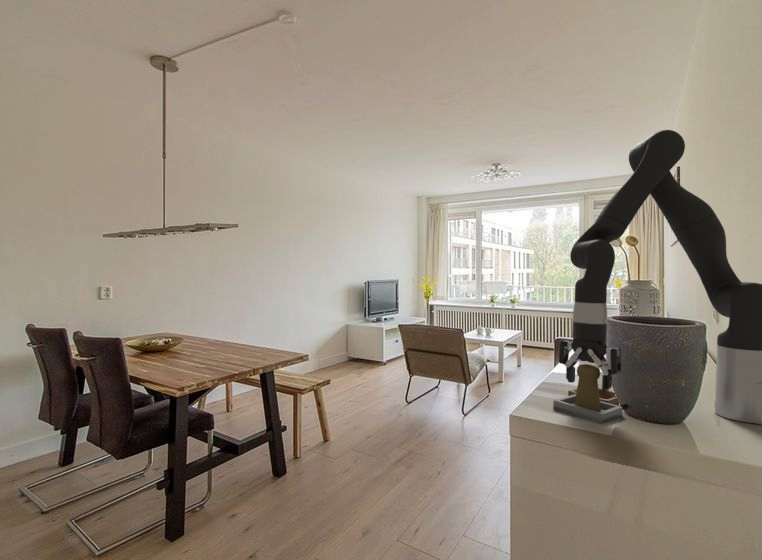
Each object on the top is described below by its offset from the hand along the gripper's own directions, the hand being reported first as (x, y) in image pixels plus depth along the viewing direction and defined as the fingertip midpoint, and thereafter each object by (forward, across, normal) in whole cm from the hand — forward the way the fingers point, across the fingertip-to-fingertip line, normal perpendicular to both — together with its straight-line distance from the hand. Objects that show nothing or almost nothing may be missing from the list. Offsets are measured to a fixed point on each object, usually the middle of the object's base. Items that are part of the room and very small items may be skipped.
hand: (587, 385), depth 98 cm
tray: (+7, 0, 0) cm, 7 cm away
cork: (+6, 0, 0) cm, 6 cm away
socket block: (+7, +3, -11) cm, 13 cm away
